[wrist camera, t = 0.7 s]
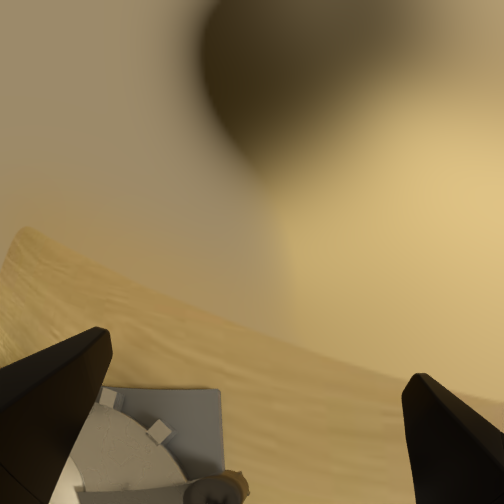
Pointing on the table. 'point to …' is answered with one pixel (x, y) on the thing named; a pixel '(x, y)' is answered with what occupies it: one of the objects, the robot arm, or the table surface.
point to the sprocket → (135, 465)
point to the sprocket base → (182, 423)
